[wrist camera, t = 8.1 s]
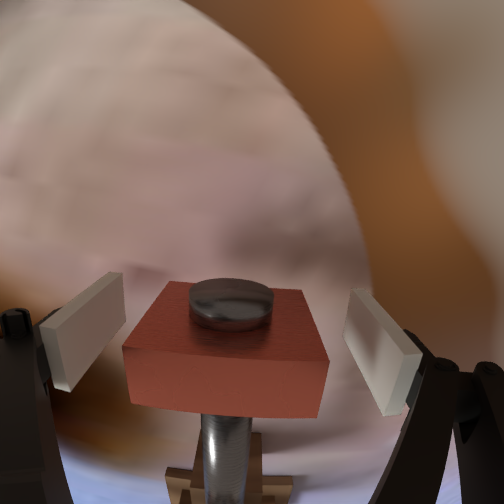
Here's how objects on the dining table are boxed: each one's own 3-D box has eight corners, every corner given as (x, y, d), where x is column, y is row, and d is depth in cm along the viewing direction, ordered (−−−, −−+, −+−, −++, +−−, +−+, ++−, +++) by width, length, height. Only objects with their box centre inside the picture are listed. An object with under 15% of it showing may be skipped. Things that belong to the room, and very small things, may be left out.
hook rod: (169, 263, 15) (116, 322, 9) (303, 272, 15) (336, 338, 9) (186, 494, 20) (174, 559, 13) (267, 500, 20) (269, 566, 13)
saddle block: (200, 428, 23) (189, 487, 17) (261, 433, 24) (262, 492, 17) (201, 450, 24) (192, 506, 18) (258, 454, 24) (259, 511, 18)
